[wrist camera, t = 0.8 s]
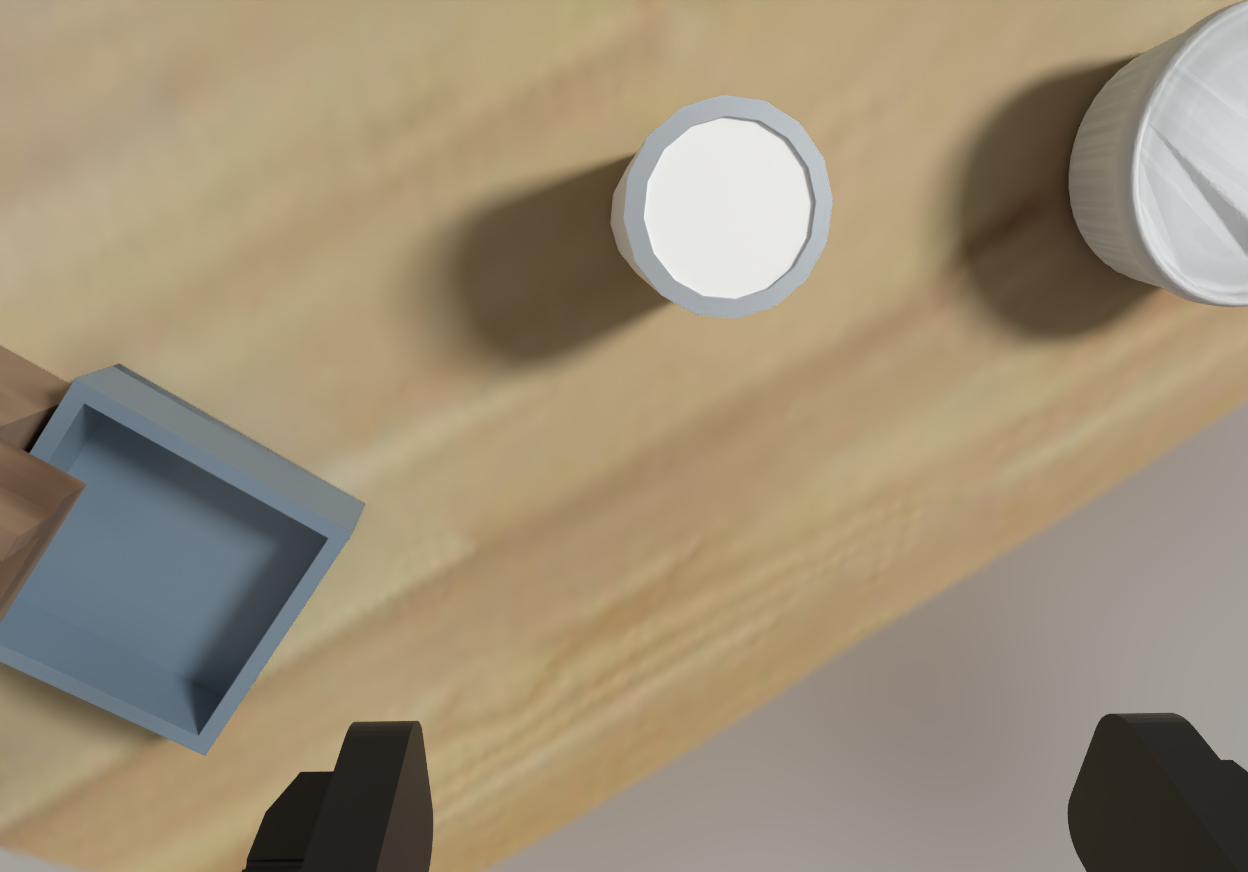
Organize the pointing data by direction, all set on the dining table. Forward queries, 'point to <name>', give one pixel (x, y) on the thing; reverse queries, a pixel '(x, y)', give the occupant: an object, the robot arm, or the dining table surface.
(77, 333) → the dining table surface
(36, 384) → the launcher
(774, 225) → the white cup
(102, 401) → the blue square tray
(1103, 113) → the ramekin
